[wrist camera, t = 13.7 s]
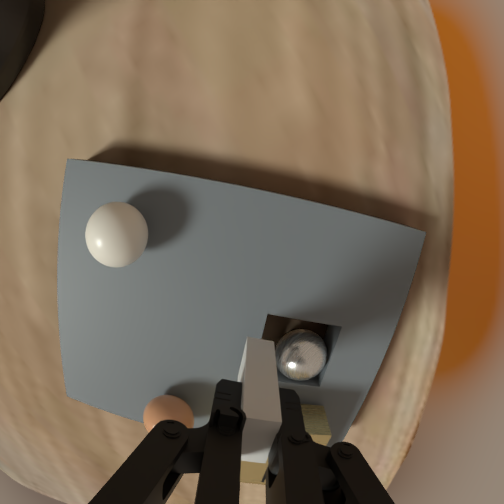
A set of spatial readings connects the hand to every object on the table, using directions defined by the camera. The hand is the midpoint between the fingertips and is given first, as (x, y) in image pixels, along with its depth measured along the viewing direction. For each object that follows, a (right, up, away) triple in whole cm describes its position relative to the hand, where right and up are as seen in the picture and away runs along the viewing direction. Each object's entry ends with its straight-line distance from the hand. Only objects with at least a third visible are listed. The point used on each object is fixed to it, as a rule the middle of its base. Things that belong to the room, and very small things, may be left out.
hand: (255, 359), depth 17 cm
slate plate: (-2, +1, +4) cm, 5 cm away
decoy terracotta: (-6, -5, +1) cm, 8 cm away
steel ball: (+3, -1, +2) cm, 4 cm away
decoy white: (-7, +7, -2) cm, 10 cm away
